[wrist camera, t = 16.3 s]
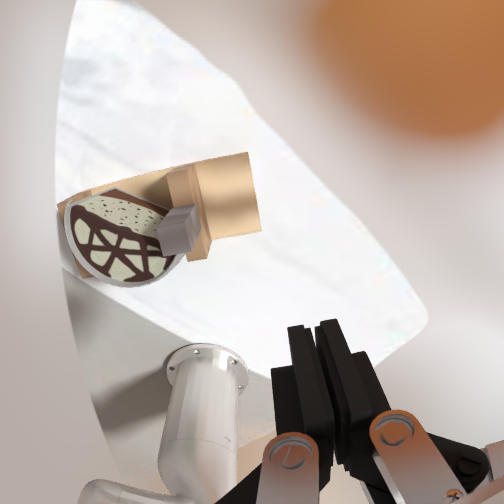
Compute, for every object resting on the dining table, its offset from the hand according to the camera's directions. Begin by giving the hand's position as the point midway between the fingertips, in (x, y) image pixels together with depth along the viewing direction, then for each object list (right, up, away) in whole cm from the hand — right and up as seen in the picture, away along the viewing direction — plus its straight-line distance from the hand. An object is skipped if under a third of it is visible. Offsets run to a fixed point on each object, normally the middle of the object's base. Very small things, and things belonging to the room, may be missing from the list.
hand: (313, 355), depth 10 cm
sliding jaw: (-8, +9, +24) cm, 27 cm away
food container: (-15, +7, +25) cm, 30 cm away
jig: (-12, +9, +25) cm, 29 cm away
